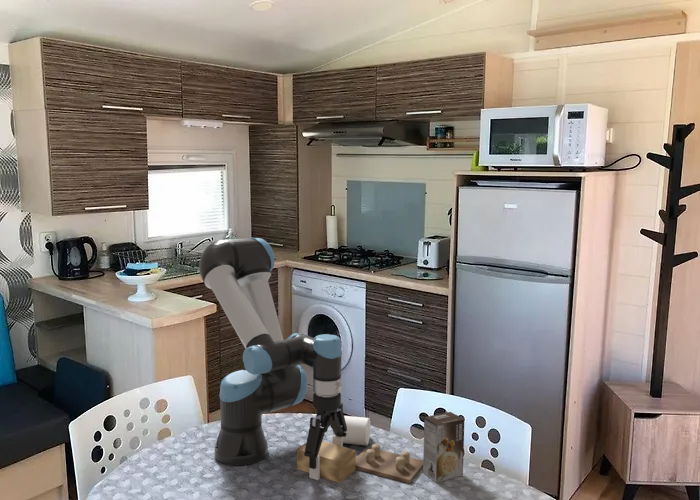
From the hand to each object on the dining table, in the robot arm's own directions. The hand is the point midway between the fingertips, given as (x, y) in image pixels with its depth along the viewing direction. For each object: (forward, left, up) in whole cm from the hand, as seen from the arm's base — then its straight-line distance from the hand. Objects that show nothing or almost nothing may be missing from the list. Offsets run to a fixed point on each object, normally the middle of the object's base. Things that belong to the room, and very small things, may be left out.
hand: (326, 468), depth 161 cm
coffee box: (+29, +13, 0) cm, 32 cm away
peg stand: (+14, +10, 0) cm, 17 cm away
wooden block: (0, 0, -1) cm, 1 cm away
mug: (-2, +20, -1) cm, 20 cm away
